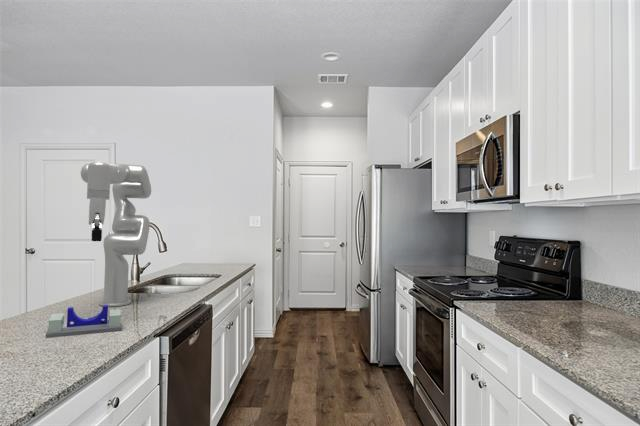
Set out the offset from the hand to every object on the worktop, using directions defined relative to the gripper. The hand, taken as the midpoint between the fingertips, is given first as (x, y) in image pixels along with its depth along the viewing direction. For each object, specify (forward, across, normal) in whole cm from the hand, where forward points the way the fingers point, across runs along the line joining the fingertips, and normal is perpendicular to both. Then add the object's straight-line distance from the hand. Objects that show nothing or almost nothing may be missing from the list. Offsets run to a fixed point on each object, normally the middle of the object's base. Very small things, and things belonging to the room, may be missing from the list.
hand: (96, 240), depth 152 cm
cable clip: (+28, +13, -2) cm, 31 cm away
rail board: (+30, +13, -2) cm, 33 cm away
